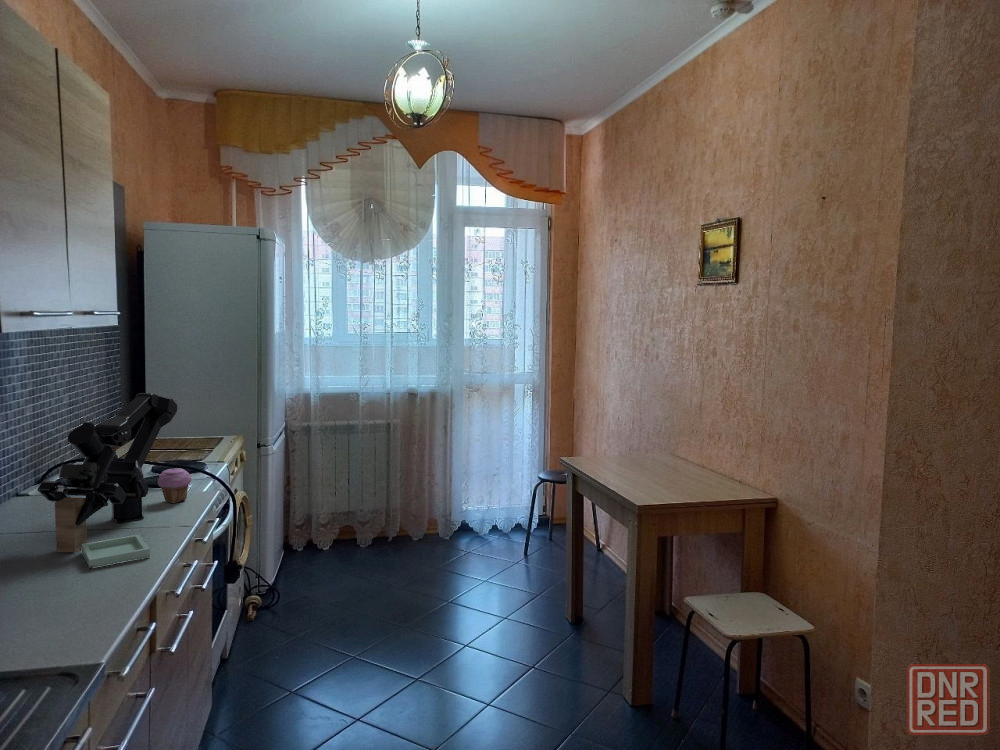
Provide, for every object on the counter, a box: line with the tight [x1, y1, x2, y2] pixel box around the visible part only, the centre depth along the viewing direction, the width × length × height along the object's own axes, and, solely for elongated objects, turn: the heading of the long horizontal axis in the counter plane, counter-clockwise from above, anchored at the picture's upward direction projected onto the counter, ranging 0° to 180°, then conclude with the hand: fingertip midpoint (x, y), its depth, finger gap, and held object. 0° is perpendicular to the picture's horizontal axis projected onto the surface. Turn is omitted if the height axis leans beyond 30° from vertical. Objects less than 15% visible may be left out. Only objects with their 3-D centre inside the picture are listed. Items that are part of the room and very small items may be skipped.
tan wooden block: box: [54, 496, 88, 553], centre depth 157 cm, size 4×4×12 cm
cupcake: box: [157, 467, 192, 504], centre depth 197 cm, size 9×9×10 cm
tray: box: [81, 534, 151, 569], centre depth 154 cm, size 12×12×2 cm
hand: (67, 524), depth 156 cm, fingers closed on tan wooden block, 4 cm apart
